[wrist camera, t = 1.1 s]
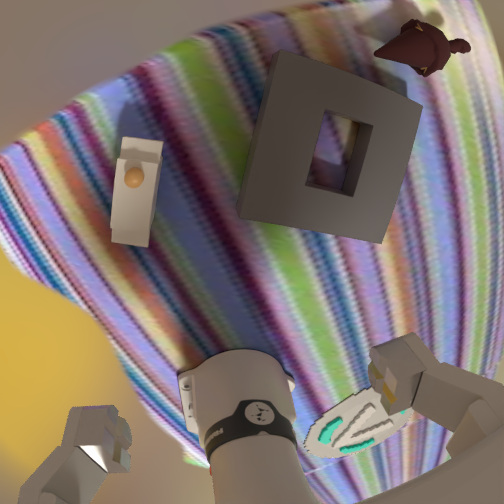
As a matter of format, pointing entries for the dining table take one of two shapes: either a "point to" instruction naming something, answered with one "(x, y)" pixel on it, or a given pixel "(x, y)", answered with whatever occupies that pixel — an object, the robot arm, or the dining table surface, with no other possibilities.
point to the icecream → (422, 47)
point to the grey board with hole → (303, 145)
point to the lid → (353, 426)
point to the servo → (135, 190)
